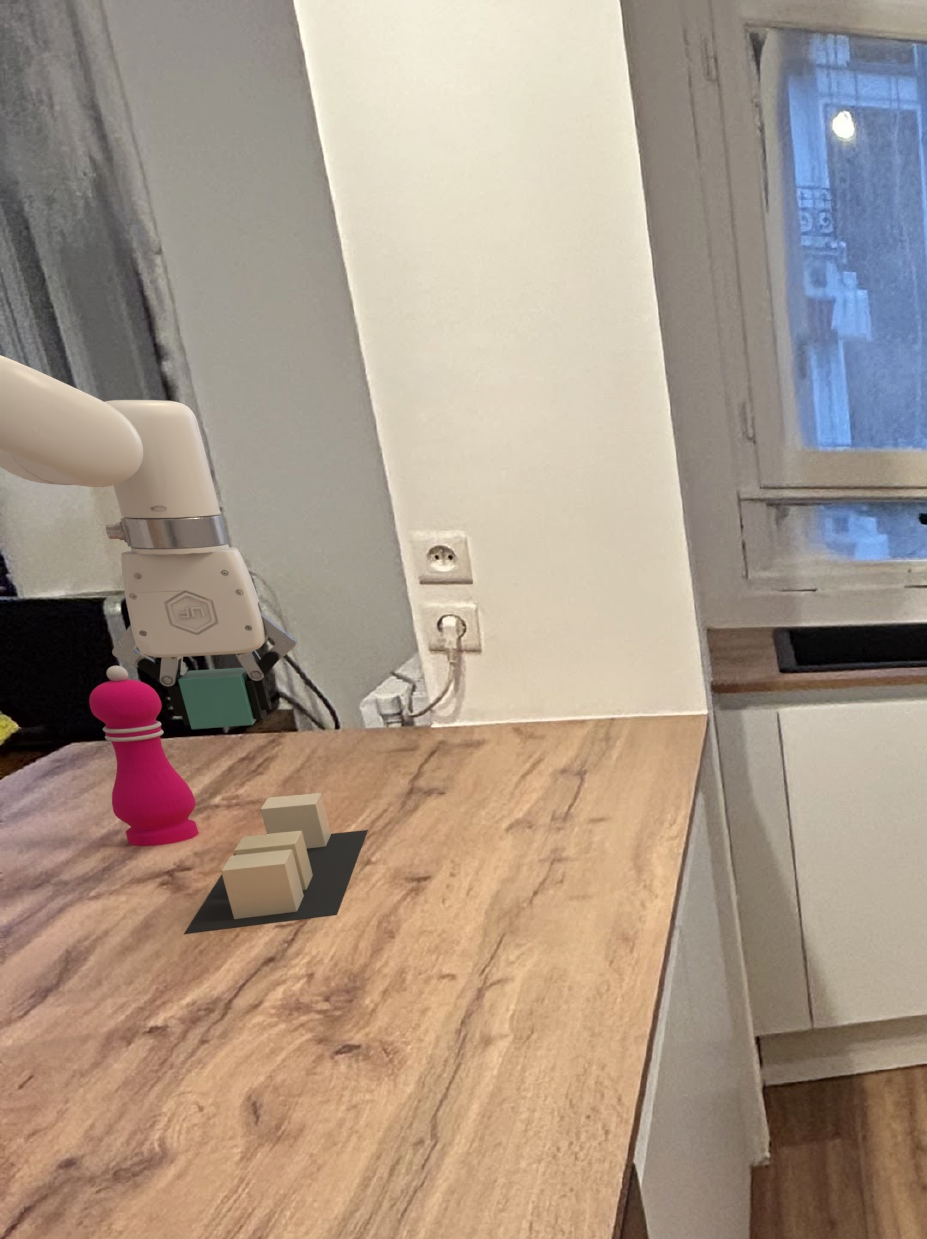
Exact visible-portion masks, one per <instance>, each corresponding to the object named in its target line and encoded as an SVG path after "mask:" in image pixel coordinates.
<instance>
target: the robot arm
mask: <svg viewBox="0 0 927 1239" xmlns="http://www.w3.org/2000/svg"><path fill="white" fill-rule="evenodd" d="M0 468H2V469H3V470H4V471H6V472H8V473H10V474H12V475H13V476H16V477H18V478H20V479H24V480H26V481H30V482H34V483H40V484H46V485H47V484H48V485H59V486H80V487H89V488H106V487H108V488H109V487H112V486H113V489H114V493H115V497H116V500H117V504H118V507H119V511H120V514H121V517H122V518H120V521H118V522H115V524H106V525H105V531H106V535H107V537H108V539H110V540H119V541H124V543H126V544H127V547H130V549H131V550H128V551H124V552H121V553H120V562H121V574H122V576H121V577H122V583H123V591H124V596H125V604H126V608H127V612H128V618H129V622H130V624H129V625H128V627H127V629H126V630H125V632H124V633H123V635H122V636H121V637H120V639H119V640H118V642H117V643H116V644H115V646H114V648H112V651H111V653H112V655H113V656H114V657H115V658H117V659H119V660H122V661H123V662H125V663H127V664H129V665H131V666H134V667H136V668H138V669H139V670H141V671H142V672H144V673H145V674H147V675H148V676H150V677H152V678H154V679H155V680H157V681H159V682H160V684H161V685H162V686H165V687H166V690H167V692H168V697H169V699H170V700H169V701H170V704H171V707H172V711H173V714H174V716H175V717H181V718H182V722H183V725H184V726H191V725H190V721H189V718H188V714H187V711H186V707H185V703H184V700H183V696H182V692H181V689H180V685H179V681H178V680H179V679H180V678H181V677H182V676H183V674H182V671H183V670H182V669H183V660H184V657H185V658H186V657H201V656H219V655H235V657H236V658H237V660H238V662H239V664H240V665H241V666H242V668H244V669H245V671H246V673H247V674H246V677H247V681H246V682H245V687H246V691H247V695H248V699H249V702H250V706H251V710H252V714H253V718H254V719H256V721H264V719H265V718H266V716H267V714H268V713H267V711H270V710H272V708H273V706H272V702H271V697H270V693H269V690H268V685H267V682H266V675H267V674H268V673H269V672H270V671H271V670H272V668H273V667H275V665H276V664H277V663H278V662H279V661H280V660H281V659H282V658H284V657H285V656H286V655H287V654H289V652H291V651H292V650H293V649H295V648H296V646H297V644H298V640H297V638H295V637H294V636H292V635H291V634H290V633H289V632H287V631H286V630H285V629H284V628H283V627H281V626H280V625H279V624H278V623H276V622H275V621H274V620H272V619H271V618H270V617H268V616H267V615H266V614H265V613H264V611H263V607H262V605H261V602H260V600H259V599H260V598H259V596H258V592H257V590H256V588H255V585H254V582H253V579H252V576H251V574H250V572H249V570H248V567H247V565H246V563H245V561H244V558H243V556H242V554H241V553H240V551H239V549H238V547H235V546H234V547H232V546H231V547H230V544H229V541H228V537H227V532H226V529H225V526H224V521H223V518H222V514H221V513H222V512H221V509H220V506H219V502H218V501H219V500H218V498H217V494H216V489H215V486H214V481H213V478H212V474H211V470H210V466H209V462H208V458H207V454H206V450H205V446H204V442H203V439H202V435H201V431H200V426H199V422H198V420H197V417H196V415H195V413H194V412H193V410H192V409H191V408H190V407H189V406H188V405H186V404H184V403H181V402H178V401H174V400H159V399H158V400H157V399H112V400H106V401H104V400H102V399H99V398H97V397H96V396H93V395H92V394H89V393H87V392H85V391H83V390H80V389H78V388H76V387H74V386H72V385H70V384H67V383H65V382H63V381H61V380H58V379H56V378H54V377H52V376H51V375H48V374H45V373H43V372H41V371H39V370H37V369H35V368H32V367H30V366H27V365H25V364H23V363H21V362H18V361H16V360H13V359H11V358H9V357H6V356H3V355H1V354H0ZM269 638H270V639H272V641H274V645H273V646H272V647H271V648H270V649H269V650H267V652H266V653H264V654H263V656H262V657H260V655H259V653H258V652H257V651H256V650H259V649H260V648H261V647H262V646H263V645H264V644H265V643H267V641H268V640H269ZM156 658H160V659H161V660H160V661H159V660H158V659H156Z"/></svg>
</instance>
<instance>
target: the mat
mask: <svg viewBox="0 0 927 1239" xmlns="http://www.w3.org/2000/svg"><path fill="white" fill-rule="evenodd" d="M368 831H369V829H362V830H354V831H344V832H333V833H331V836H330V838H329V840H328V843H327V845H326V847H317V848H308V849H306V850H307V854H308V858H309V862H310V866H311V870H312V874H313V876H312V878H311V881H310V883H309V885H308V887H307V890H302V891H303V895H304V897H303V899H302V901H301V903H300V906H299V908H298V910H297V912H291V913H282V914H274V915H266V916H258V917H250V918H242V919H234V916H233V913H232V909H231V905H230V902H229V898H228V894H227V891H226V887H225V883H224V880H223V876H222V873H221V874H220V876H219V877H218V879H217V880H216V883H215V884H214V885H213V886H212V888H211V890H210V892H209V894H208V895H207V897H206V898H205V900H204V901H203V903H202V904H201V906H200V907H199V909H198V910H197V912H196V914H195V916H194V917H193V918H192V920H191V922H190V923H189V924H188V926H187V928H186V929H185V931H184V933H183V935H191V934H198V933H206V932H214V931H221V930H229V929H230V930H231V929H237V928H246V927H255V926H263V925H269V924H279V923H285V922H294V921H301V920H310V919H318V918H326V917H332V916H338V913H339V911H340V908H341V905H342V903H343V900H344V897H345V895H346V893H347V892H346V891H347V889H348V886H349V883H350V880H351V878H352V875H353V873H354V869H355V866H356V864H357V861H358V858H359V856H360V854H361V851H362V848H363V845H364V842H365V839H366V837H367V834H368ZM234 855H235V853H234V854H233V855H232V856H234Z"/></svg>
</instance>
